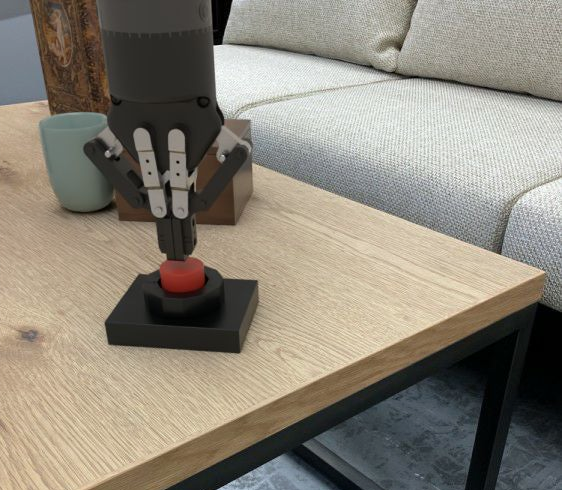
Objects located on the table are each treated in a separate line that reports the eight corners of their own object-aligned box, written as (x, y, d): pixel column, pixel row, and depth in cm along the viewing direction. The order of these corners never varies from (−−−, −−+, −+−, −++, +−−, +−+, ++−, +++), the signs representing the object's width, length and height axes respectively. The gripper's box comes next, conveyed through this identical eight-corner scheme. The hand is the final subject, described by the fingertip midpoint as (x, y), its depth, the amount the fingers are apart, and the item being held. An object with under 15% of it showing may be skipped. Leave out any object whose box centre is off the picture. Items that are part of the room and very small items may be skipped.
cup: (127, 195, 87) (116, 111, 81) (112, 218, 81) (99, 129, 75) (65, 195, 87) (50, 112, 82) (46, 218, 81) (27, 129, 75)
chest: (118, 220, 80) (108, 151, 76) (148, 186, 90) (141, 124, 85) (235, 225, 78) (231, 155, 74) (253, 190, 88) (251, 126, 84)
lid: (101, 151, 76) (100, 143, 75) (134, 123, 85) (134, 116, 85) (231, 154, 74) (231, 147, 74) (251, 126, 84) (250, 119, 83)
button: (156, 293, 57) (153, 273, 56) (168, 274, 60) (166, 255, 59) (199, 295, 56) (197, 276, 55) (209, 276, 59) (208, 257, 58)
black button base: (107, 345, 57) (100, 302, 55) (141, 295, 65) (136, 254, 62) (240, 354, 56) (237, 310, 54) (259, 301, 63) (257, 260, 61)
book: (135, 139, 108) (111, -50, 94) (103, 146, 105) (74, -48, 91) (82, 120, 118) (54, -53, 104) (52, 126, 115) (19, -52, 101)
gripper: (262, 13, 49) (267, 243, 59) (83, 11, 51) (116, 235, 61) (242, 28, 43) (251, 282, 53) (39, 26, 45) (83, 273, 54)
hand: (178, 257), depth 57 cm, fingers closed
